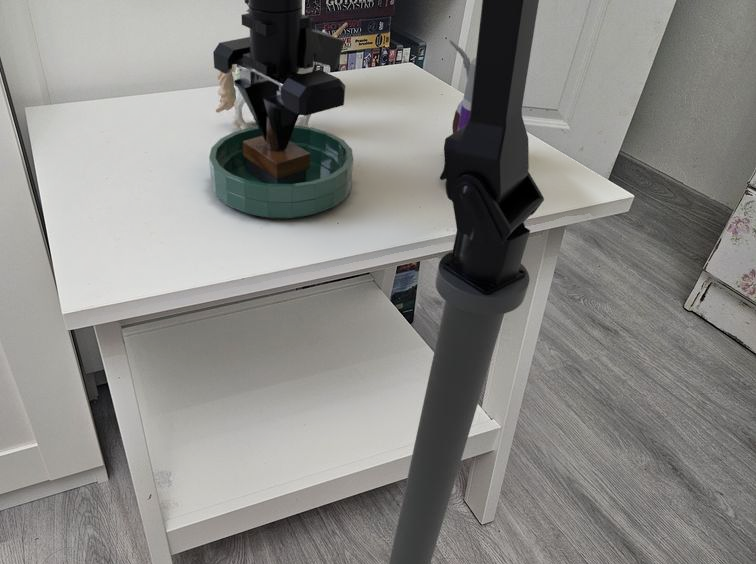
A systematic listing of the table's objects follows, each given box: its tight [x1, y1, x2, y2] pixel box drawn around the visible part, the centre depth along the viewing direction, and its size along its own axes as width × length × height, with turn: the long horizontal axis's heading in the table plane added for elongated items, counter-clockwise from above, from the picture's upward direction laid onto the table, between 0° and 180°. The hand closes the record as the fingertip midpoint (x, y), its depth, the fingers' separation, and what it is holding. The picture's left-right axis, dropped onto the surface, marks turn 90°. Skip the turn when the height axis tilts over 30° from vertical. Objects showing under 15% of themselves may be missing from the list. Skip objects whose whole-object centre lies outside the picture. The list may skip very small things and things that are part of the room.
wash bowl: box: [208, 125, 354, 219], centre depth 80 cm, size 18×18×4 cm
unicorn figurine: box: [215, 22, 349, 130], centre depth 91 cm, size 7×20×13 cm, turn 99°
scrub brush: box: [243, 114, 311, 184], centre depth 79 cm, size 8×5×8 cm, turn 36°
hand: (275, 145), depth 79 cm, fingers closed on scrub brush, 2 cm apart
